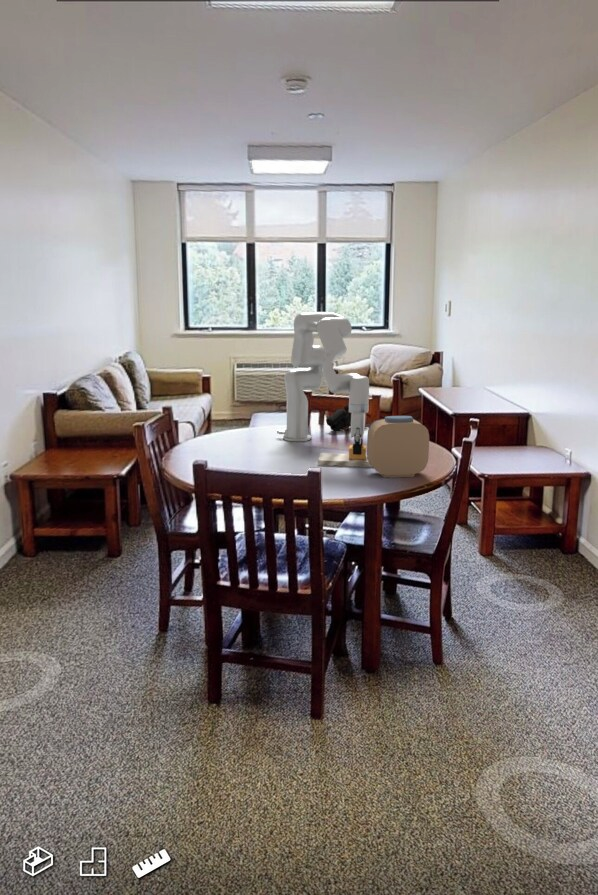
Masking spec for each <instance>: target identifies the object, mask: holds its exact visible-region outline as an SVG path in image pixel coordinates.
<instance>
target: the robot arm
mask: <svg viewBox="0 0 598 895" xmlns="http://www.w3.org/2000/svg"><path fill="white" fill-rule="evenodd" d="M352 330H353V329H352V324H351V322H350V320H349V319H348V318H347V317H345V316H342V315H341V314H338V313H335V312H333V311H312V312H311V311H308V312H301V313H298V314H297V315H296V316H295V317H294V320H293V331H294V336H293V343H292V348H291V349H292V350H291V358H290V361H291V364H292V366H293V367H295V368H293V369H290V370H287V371H286V372H285V374H284V377H283V378H284V380H283V381H284V386H285V396H286V428H284V429H276V430H277V431H276V434H279V435H283V440H284V441H287V442H296V443H297V442H300V443H301V442H307V441H310V440H312V435H310V434H308V433H309V432H308V431H309V430H308V428H309V426H308V424H309V422H308V421H309V415H308V414H309V413H308V412H309V400H308V397H307V395H306V394H305V392H304V391H306V390H308V391H309V390H316V389H319V388H320V387H321V386H322V384H323V381H324V383H325V384H326V385H325V386H326V387H327V389H328V390H329V392H330V393H332V394H349V395H348V405H349V412H350V413H352V414H351V427H350V438H351V439H353V444H352V445H353V454H357V455H361V449H362V445H363V439H364V434H365V426H366V423H365V413H366V414H367V413H369V410H370V409H369V407H370V406H369V404H370V403H369V401H370V398H369V397H370V378H369V377H368V376H366V375H360V374H359V373H356V372H350V373H349V372H348V373H346V372H345V373H336V371H335V369H334V365H333V363H334V362H335V361H337V360H338V359H340V358H342V357H343V356H345V354H346V352H347V348H348V347H347V346H346V343H345V341H344V339H347V338H348V337H350V336H351V334H352ZM313 333H316V334H318V336H319V339H320V341H321V344H322V345H320V344H319V345H318V344H317V345H316V344H314V341H315V336H314V334H313Z"/></svg>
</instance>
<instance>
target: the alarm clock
mask: <svg viewBox="0 0 598 895" xmlns="http://www.w3.org/2000/svg"><path fill="white" fill-rule="evenodd" d="M366 437H367V440H366V442H367V443H366V454H367V459H368V462H369V463H370V465H371V466H372V467H371V468H373V469H374V470H375V471H376V473H378V474H380V475H381V476H382V478H384V477H390V478H411V477H412V478H413V477H415V476H416V474H419V473H421V472H423V471H424V470H425V469H426V468H427V465H428V463H429V456H430V454H429V453H430V434H429V429H428V428H427V427H426V425H424V424H422V423H420V422H419V421H417V420H416V419H414V417H413V416H411V415H390V416H389V415H388V416H385V417H384V418H381V419H378V420H376V419H375V420H374V421H373V422H371V424H370V425H369V427H368V429H367V436H366Z"/></svg>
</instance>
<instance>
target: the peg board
mask: <svg viewBox="0 0 598 895" xmlns="http://www.w3.org/2000/svg"><path fill="white" fill-rule="evenodd" d="M318 464H319V465H318ZM317 465H318V466H325V465H339V466H338V467H353V466H357V467H358V466H360V467H358V468H373V467H372V466H371V465H370V463H369V462H368V459H367V453H366V459H349V453H339V452H338V453H337V452H336V453H335V452H333V453H331V452H320V454H319V457H318V459H317Z"/></svg>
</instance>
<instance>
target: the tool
mask: <svg viewBox="0 0 598 895" xmlns="http://www.w3.org/2000/svg"><path fill="white" fill-rule="evenodd" d="M351 414H352V413H350V412H349V404H347V403H346V404H345V405H344V408H338V409H337V410H335V412H333V414H332V415H330V416H328V417H327V418H326V419H325V421H326V424H327V426H329V427H330V430H332V431H336V432H339V431H342V430H344V429H345V430H347V429H348V428H351ZM367 416H368V415H367V413H365V424H366V423H367ZM346 428H347V429H346ZM345 430H344V431H345Z"/></svg>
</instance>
